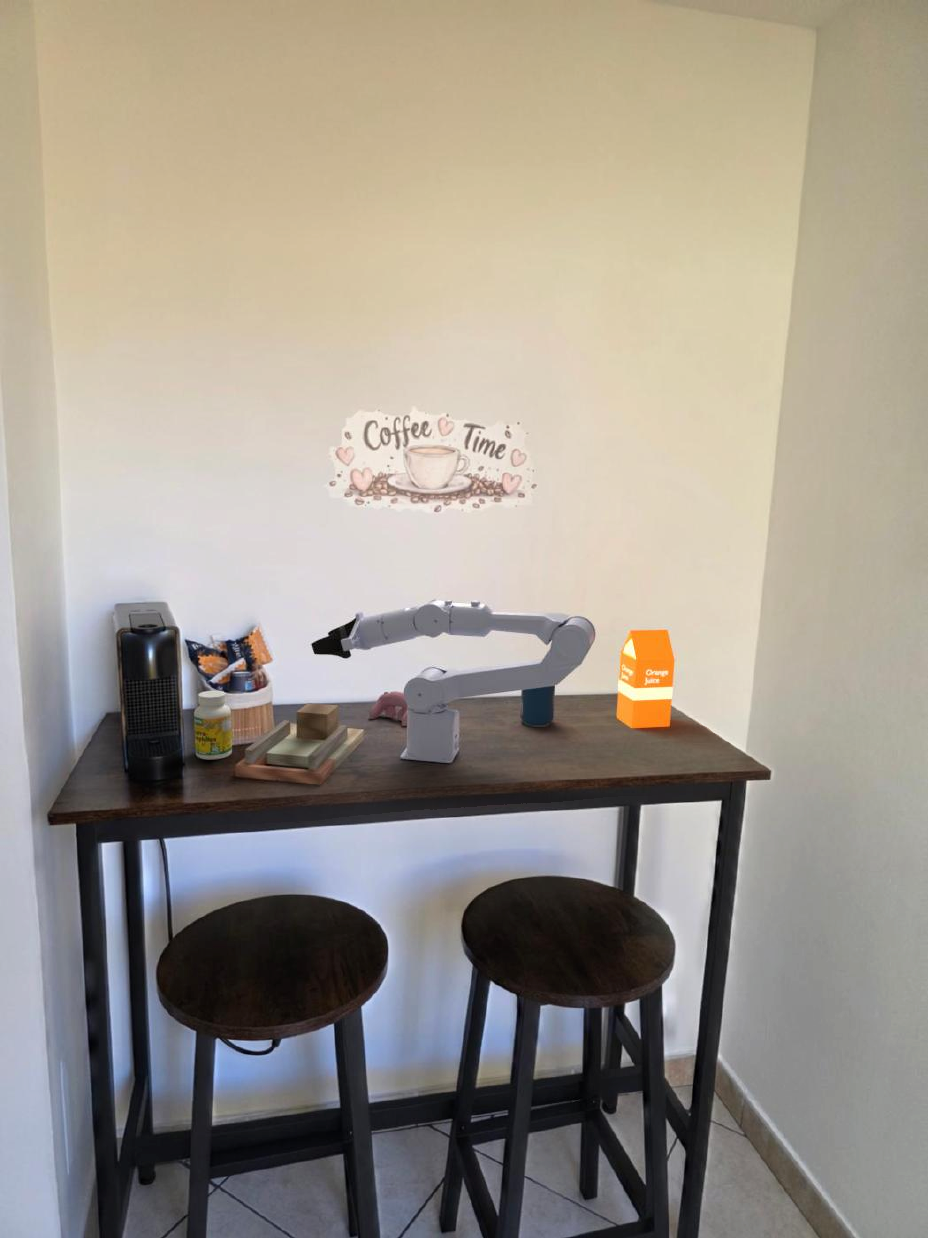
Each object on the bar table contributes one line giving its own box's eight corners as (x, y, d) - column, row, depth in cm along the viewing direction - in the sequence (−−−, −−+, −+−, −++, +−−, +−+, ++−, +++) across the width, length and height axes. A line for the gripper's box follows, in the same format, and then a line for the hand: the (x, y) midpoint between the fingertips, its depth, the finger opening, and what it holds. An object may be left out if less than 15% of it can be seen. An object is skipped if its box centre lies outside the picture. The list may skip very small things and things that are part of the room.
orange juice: (670, 726, 174) (677, 633, 171) (631, 728, 172) (637, 634, 169) (652, 715, 182) (659, 626, 178) (615, 717, 180) (621, 626, 176)
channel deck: (363, 739, 160) (363, 717, 159) (320, 785, 137) (320, 759, 136) (290, 733, 163) (290, 710, 162) (235, 776, 139) (234, 751, 139)
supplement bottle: (238, 751, 152) (237, 691, 150) (218, 762, 146) (217, 700, 144) (208, 746, 153) (207, 687, 151) (187, 757, 147) (185, 696, 145)
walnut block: (338, 730, 158) (338, 705, 158) (327, 740, 153) (327, 714, 152) (308, 728, 159) (308, 703, 159) (296, 737, 154) (296, 711, 153)
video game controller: (416, 731, 171) (425, 698, 173) (404, 726, 168) (414, 693, 169) (378, 722, 176) (387, 690, 178) (366, 717, 173) (375, 685, 174)
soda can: (560, 724, 173) (562, 669, 171) (534, 729, 169) (536, 672, 167) (538, 716, 179) (541, 662, 177) (513, 720, 175) (515, 665, 173)
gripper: (394, 598, 157) (330, 613, 161) (368, 617, 143) (298, 632, 147) (404, 633, 158) (341, 647, 162) (379, 655, 144) (310, 670, 148)
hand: (321, 642), depth 155 cm, fingers open, 7 cm apart
